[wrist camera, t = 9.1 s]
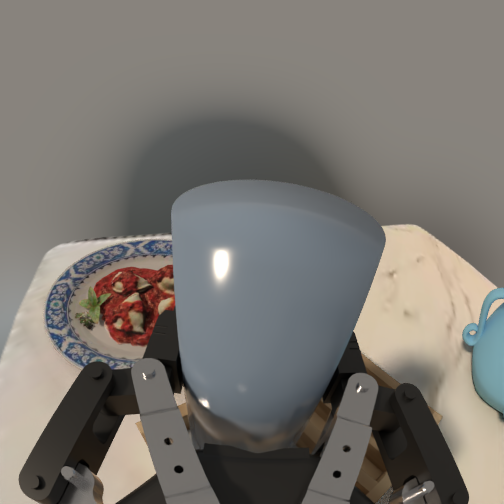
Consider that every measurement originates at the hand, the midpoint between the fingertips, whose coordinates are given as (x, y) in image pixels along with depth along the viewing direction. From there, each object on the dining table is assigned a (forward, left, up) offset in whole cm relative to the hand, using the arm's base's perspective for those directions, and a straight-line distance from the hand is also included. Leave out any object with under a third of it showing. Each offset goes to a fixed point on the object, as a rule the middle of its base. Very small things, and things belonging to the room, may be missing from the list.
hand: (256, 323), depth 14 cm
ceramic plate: (0, -20, -14) cm, 25 cm away
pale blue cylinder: (+2, +2, -8) cm, 9 cm away
